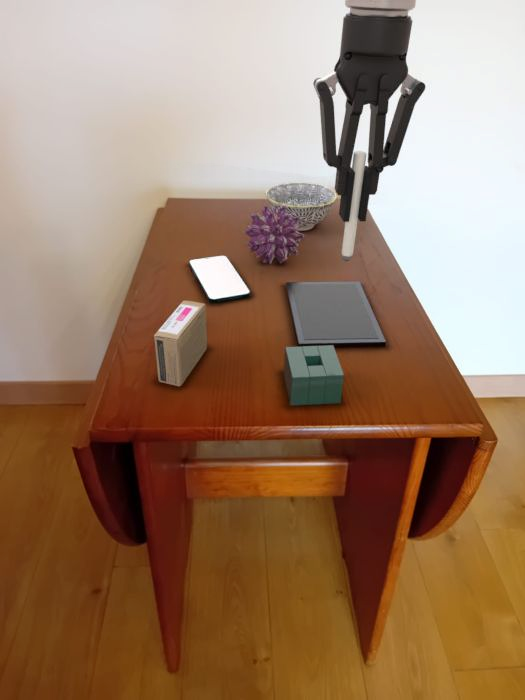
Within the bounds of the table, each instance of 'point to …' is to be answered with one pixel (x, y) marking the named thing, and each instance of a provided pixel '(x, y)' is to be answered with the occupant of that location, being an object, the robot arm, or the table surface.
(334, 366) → the pen block
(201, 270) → the smartphone
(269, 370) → the table surface
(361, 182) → the stylus
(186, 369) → the ink box
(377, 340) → the tablet
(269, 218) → the flower
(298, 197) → the bowl
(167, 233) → the table surface
